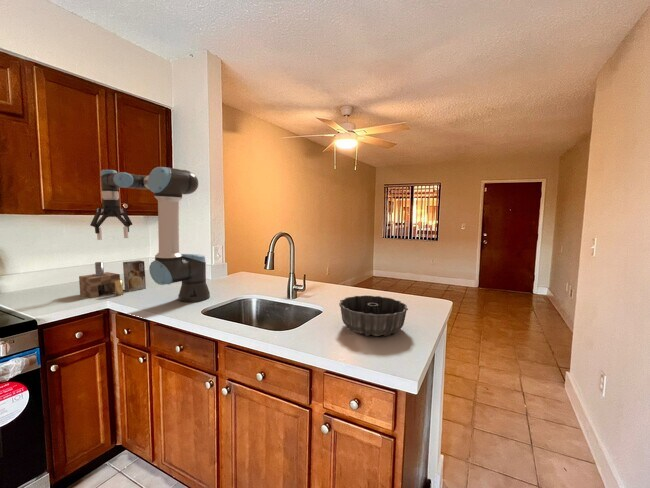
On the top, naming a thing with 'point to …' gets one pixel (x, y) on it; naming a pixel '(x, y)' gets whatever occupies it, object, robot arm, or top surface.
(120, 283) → the short brass pin
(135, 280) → the coffee box
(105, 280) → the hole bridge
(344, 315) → the bundt pan
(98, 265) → the tall steel pin
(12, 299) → the top surface
